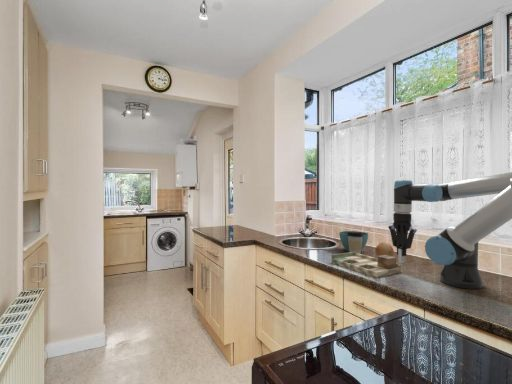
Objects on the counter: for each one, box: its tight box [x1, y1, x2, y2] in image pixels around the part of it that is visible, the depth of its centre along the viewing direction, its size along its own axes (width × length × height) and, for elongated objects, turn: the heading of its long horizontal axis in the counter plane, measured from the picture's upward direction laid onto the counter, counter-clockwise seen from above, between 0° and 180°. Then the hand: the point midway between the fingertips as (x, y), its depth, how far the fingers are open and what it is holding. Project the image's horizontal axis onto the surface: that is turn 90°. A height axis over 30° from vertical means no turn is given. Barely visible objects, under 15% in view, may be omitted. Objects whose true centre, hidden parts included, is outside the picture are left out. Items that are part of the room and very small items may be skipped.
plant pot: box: [338, 230, 369, 253], centre depth 182 cm, size 18×18×12 cm
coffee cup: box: [347, 230, 363, 254], centre depth 167 cm, size 9×9×15 cm
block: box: [377, 255, 397, 269], centre depth 136 cm, size 6×6×5 cm
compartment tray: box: [331, 251, 402, 279], centre depth 144 cm, size 29×18×4 cm, turn 29°
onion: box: [375, 242, 395, 257], centre depth 160 cm, size 10×10×10 cm
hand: (401, 262), depth 130 cm, fingers closed
